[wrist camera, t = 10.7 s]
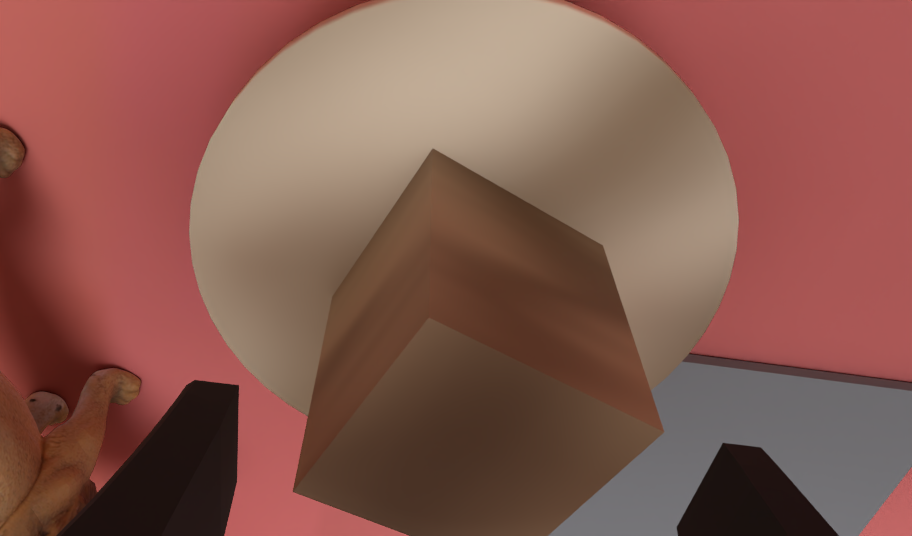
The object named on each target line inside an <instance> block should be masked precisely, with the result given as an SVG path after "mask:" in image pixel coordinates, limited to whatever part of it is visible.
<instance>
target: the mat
mask: <svg viewBox="0 0 912 536" xmlns="http://www.w3.org/2000/svg"><path fill="white" fill-rule="evenodd" d="M651 393H652V396H653V399H654V402H655V405H656V408H657V411H658V414H659V417H660V420H661V423H662V426H663V429H664V433H663V434H662V435H661V436H660V437H658V438H657V439H656V440H655V441H654V442H653V443H652V444H651V445H649V446H648V447H647V448H646V449H645V450H644V451H643V452H642V453H640V454H639V455H638V456H637V457H636V458H635V459H634V460H633V461H631V462H630V463H629V464H628V465H627V466H626V467H625V468H624V469H622V470H621V471H620V472H619V473H618V474H617V475H616V476H615V477H613V478H612V479H611V480H610V481H609V482H608V483H607V484H606V485H604V486H603V487H602V488H601V489H600V490H599V491H598V492H597V493H595V494H594V495H593V496H592V497H591V498H590V499H589V500H588V501H586V502H585V503H584V504H583V505H582V506H581V507H580V508H579V509H577V510H576V511H575V512H574V513H573V514H572V515H571V516H570V517H568V518H567V519H566V520H565V521H564V522H563V523H562V524H561V525H559V526H558V527H557V528H556V529H555V530H554V531H553V532H552V533H550V534H549V535H548V536H678V533H677V525H678V524H679V522H680V520H681V518H682V516H683V514H684V513H685V511H686V509H687V507H688V505H689V504H690V502H691V500H692V498H693V496H694V494H695V493H696V491H697V489H698V487H699V485H700V484H701V482H702V480H703V478H704V476H705V474H706V473H707V471H708V469H709V467H710V465H711V463H712V462H713V460H714V458H715V456H716V454H717V453H718V451H719V449H720V447H721V445H722V443H729V444H737V445H746V446H754V447H761V448H762V449H763V450H764V451H765V452H766V453H767V454H768V455H769V456H770V458H771V459H772V460H773V461H774V462H775V463H776V464H777V465H778V466H779V467H780V469H781V470H782V471H783V472H784V473H785V474H786V475H787V477H788V478H789V479H790V480H791V481H792V482H793V483H794V485H795V486H796V487H797V488H798V489H799V490H800V491H801V493H802V494H803V495H804V496H805V497H806V498H807V499H808V501H809V502H810V503H811V504H812V505H813V506H814V507H815V509H816V510H817V511H818V512H819V513H820V514H821V516H822V517H823V518H824V519H825V520H826V521H827V522H828V524H829V525H830V526H831V527H832V528H833V529H834V530H835V532H836V533H837V534H838V535H839V536H858V535H859V534H860V533H861V532H862V530H863V529H864V528H865V526H866V525H867V524H868V523H869V521H870V520H871V519H872V517H873V516H874V515H875V514H876V512H877V511H878V510H879V508H880V507H881V506H882V504H883V503H884V502H885V501H886V499H887V498H888V497H889V495H890V494H891V493H892V492H893V490H894V489H895V488H896V486H897V485H898V484H899V483H900V481H901V480H902V479H903V477H904V476H905V475H906V473H907V472H908V471H909V470H910V468H911V467H912V383H908V382H901V381H893V380H885V379H878V378H870V377H862V376H854V375H847V374H839V373H831V372H824V371H816V370H808V369H800V368H793V367H785V366H777V365H770V364H762V363H754V362H746V361H739V360H731V359H723V358H716V357H708V356H700V355H692V354H688V356H687V357H686V358H685V359H684V360H683V361H682V362H681V363H680V364H679V365H678V366H677V367H676V368H675V369H674V370H673V371H672V372H671V373H670V374H669V376H668V377H666V378H665V379H664V380H663V381H662V382H660V383H659V384H658V385H657V386H656V387H655V388H653V389H652V390H651Z"/></svg>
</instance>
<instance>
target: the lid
mask: <svg viewBox="0 0 912 536" xmlns="http://www.w3.org/2000/svg"><path fill="white" fill-rule="evenodd" d="M738 223H739V217H738V205H737V193H736V186H735V182H734V178H733V174H732V171H731V167H730V163H729V159H728V156H727V154H726V151H725V149H724V147H723V144H722V142H721V140H720V138H719V135H718V133H717V131H716V128H715V126H714V125H713V123H712V122H711V120H710V119H709V117H708V116H707V114H706V112H705V111H704V109H703V108H702V106H701V105H700V103H699V102H698V100H697V99H696V97H695V96H694V94H693V93H692V92H691V90H690V89H689V88H688V86H687V85H686V84H685V83H684V82H683V81H682V79H681V78H680V77H679V76H678V75H677V74H676V73H675V72H674V71H673V69H672V68H671V67H670V66H669V65H668V64H667V63H666V62H665V61H664V59H663V58H661V57H660V56H659V55H658V54H657V53H655V52H654V51H653V50H652V49H650V48H649V47H648V46H647V45H646V44H644V43H643V42H642V41H641V40H639V39H638V38H637V37H636V36H634V35H633V34H631V33H630V32H628V31H626V30H625V29H623V28H621V27H620V26H618V25H616V24H615V23H613V22H611V21H609V20H608V19H606V18H604V17H603V16H601V15H599V14H596V13H594V12H592V11H589V10H587V9H584V8H582V7H579V6H577V5H575V4H572V3H570V2H567V1H565V0H371V1H368V2H364V3H361V4H358V5H355V6H353V7H351V8H349V9H347V10H345V11H343V12H340V13H338V14H336V15H334V16H332V17H330V18H328V19H325V20H323V21H321V22H319V23H318V24H316V25H315V26H313V27H312V28H310V29H309V30H307V31H306V32H304V33H303V34H301V35H299V36H298V37H296V38H295V39H293V40H292V41H290V42H289V43H287V44H286V45H285V46H284V47H283V48H282V49H281V50H279V51H278V52H277V53H276V54H275V55H274V56H273V57H272V58H270V59H269V60H268V61H267V62H266V63H265V64H264V65H262V66H261V67H260V68H259V69H258V70H257V72H256V73H255V74H254V75H253V76H252V78H251V79H250V80H249V81H248V82H247V84H246V85H245V86H244V87H243V88H242V90H241V91H240V92H239V93H238V95H237V96H236V97H235V99H234V100H233V102H232V104H231V105H230V107H229V109H228V110H227V112H226V114H225V115H224V117H223V119H222V120H221V122H220V124H219V126H218V127H217V129H216V131H215V132H214V134H213V136H212V137H211V139H210V141H209V144H208V146H207V149H206V151H205V154H204V156H203V159H202V161H201V164H200V166H199V169H198V172H197V176H196V181H195V186H194V190H193V195H192V199H191V208H190V227H189V237H190V246H191V256H192V264H193V268H194V272H195V276H196V279H197V283H198V287H199V291H200V294H201V296H202V298H203V301H204V303H205V305H206V308H207V310H208V312H209V315H210V317H211V319H212V321H213V323H214V324H215V326H216V328H217V329H218V331H219V332H220V334H221V336H222V337H223V339H224V341H225V342H226V344H227V345H228V347H229V348H230V349H231V350H232V352H233V353H234V354H235V355H236V356H237V358H238V359H239V360H240V361H241V363H242V364H243V365H244V366H245V368H247V369H248V370H249V371H250V372H251V373H252V374H253V375H254V376H255V377H256V378H257V379H258V380H259V381H260V382H261V383H262V384H263V385H264V386H265V387H266V388H268V389H269V390H270V391H271V392H273V393H274V394H275V395H277V396H278V397H279V398H281V399H282V400H283V401H285V402H286V403H287V404H288V405H290V406H292V407H293V408H295V409H297V410H298V411H300V412H302V413H303V414H305V415H307V416H308V419H307V424H306V429H305V434H304V439H303V444H302V449H301V454H300V459H299V464H298V469H297V474H296V478H295V483H294V488H293V492H295V493H297V494H300V495H303V496H305V497H308V498H311V499H313V500H316V501H319V502H321V503H324V504H327V505H329V506H332V507H335V508H337V509H340V510H343V511H345V512H348V513H351V514H353V515H356V516H359V517H361V518H364V519H367V520H369V521H372V522H375V523H377V524H380V525H383V526H385V527H388V528H391V529H393V530H396V531H399V532H401V533H404V534H407V535H409V536H548V535H549V534H550V533H552V532H553V531H554V530H555V529H556V528H557V527H558V526H559V525H561V524H562V523H563V522H564V521H565V520H566V519H567V518H568V517H570V516H571V515H572V514H573V513H574V512H575V511H576V510H577V509H579V508H580V507H581V506H582V505H583V504H584V503H585V502H586V501H588V500H589V499H590V498H591V497H592V496H593V495H594V494H595V493H597V492H598V491H599V490H600V489H601V488H602V487H603V486H604V485H606V484H607V483H608V482H609V481H610V480H611V479H612V478H613V477H615V476H616V475H617V474H618V473H619V472H620V471H621V470H622V469H624V468H625V467H626V466H627V465H628V464H629V463H630V462H631V461H633V460H634V459H635V458H636V457H637V456H638V455H639V454H640V453H642V452H643V451H644V450H645V449H646V448H647V447H648V446H649V445H651V444H652V443H653V442H654V441H655V440H656V439H657V438H658V437H660V436H661V435H662V434H663V433H664V429H663V426H662V423H661V420H660V417H659V414H658V411H657V408H656V405H655V402H654V399H653V396H652V393H651V390H652V389H653V388H655V387H656V386H657V385H658V384H659V383H660V382H662V381H663V380H664V379H665V378H666V377H668V376H669V374H670V373H671V372H672V371H673V370H674V369H675V368H676V367H677V366H678V365H679V364H680V363H681V362H682V361H683V360H684V359H685V358H686V357H687V356H688V354H689V353H690V351H691V350H692V349H693V347H694V346H695V345H696V343H697V342H698V341H699V339H700V338H701V337H702V335H703V334H704V333H705V331H706V329H707V327H708V326H709V324H710V322H711V320H712V318H713V317H714V315H715V313H716V311H717V309H718V308H719V306H720V303H721V300H722V298H723V295H724V293H725V290H726V288H727V285H728V283H729V280H730V276H731V272H732V267H733V263H734V259H735V254H736V250H737V237H738Z"/></svg>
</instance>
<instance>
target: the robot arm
mask: <svg viewBox="0 0 912 536" xmlns="http://www.w3.org/2000/svg"><path fill="white" fill-rule="evenodd" d="M238 399H239V385H231V384H223V383H214V382H206V381H198V380H194V381H193V382H191V383H189V384H188V385H186V387H185V388H184V389H183V391H182V392H181V394H180V395H179V396H178V398H177V399H176V400H175V402H174V403H173V404H172V406H171V407H170V408H169V410H168V411H167V412H166V413H165V415H164V416H163V417H162V419H161V420H160V421H159V422H158V424H157V425H156V426H155V427H154V429H153V430H152V431H151V432H150V433H149V435H148V436H147V437H146V438H145V439H144V441H143V442H142V443H141V444H140V445H139V447H138V448H137V449H136V450H135V451H134V452H133V454H132V455H131V456H130V457H129V458H128V459H127V461H126V462H125V463H124V464H123V465H122V466H121V467H120V468H119V469H118V471H117V472H116V473H115V474H114V475H113V476H112V477H111V478H110V479H109V481H108V482H107V483H106V484H105V485H104V486H103V487H102V488H101V490H100V491H99V492H98V493H97V494H96V495H95V496H94V497H93V498H92V499H91V501H90V502H89V503H88V504H87V505H86V506H85V507H84V508H83V509H82V510H81V511H80V512H79V513H78V514H77V515H76V516H75V517H74V518H73V519H72V520H71V521H70V522H69V523H68V524H67V525H66V526H65V527H64V528H63V529H62V530H61V531H60V532H59V533H58V534H57V535H56V536H224V534H225V530H226V526H227V521H228V517H229V513H230V509H231V504H232V500H233V496H234V491H235V487H236V483H237V451H238ZM677 533H678V536H839V535H838V534H837V533H836V532H835V530H834V529H833V528H832V527H831V526H830V525H829V524H828V522H827V521H826V520H825V519H824V518H823V517H822V516H821V514H820V513H819V512H818V511H817V510H816V509H815V507H814V506H813V505H812V504H811V503H810V502H809V501H808V499H807V498H806V497H805V496H804V495H803V494H802V493H801V491H800V490H799V489H798V488H797V487H796V486H795V485H794V483H793V482H792V481H791V480H790V479H789V478H788V477H787V475H786V474H785V473H784V472H783V471H782V470H781V469H780V467H779V466H778V465H777V464H776V463H775V462H774V461H773V460H772V459H771V458H770V456H769V455H768V454H767V453H766V452H765V451H764V450H763V449H762V448H761V447H754V446H746V445H737V444H729V443H722V445H721V447H720V449H719V451H718V453H717V454H716V456H715V458H714V460H713V462H712V463H711V465H710V467H709V469H708V471H707V473H706V474H705V476H704V478H703V480H702V482H701V484H700V485H699V487H698V489H697V491H696V493H695V494H694V496H693V498H692V500H691V502H690V504H689V505H688V507H687V509H686V511H685V513H684V514H683V516H682V518H681V520H680V522H679V524H678V525H677Z"/></svg>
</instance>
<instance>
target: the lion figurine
mask: <svg viewBox="0 0 912 536" xmlns="http://www.w3.org/2000/svg"><path fill="white" fill-rule="evenodd" d="M24 154H25V150H24V147H23V145H22V144H21V142H20V140H19V139H18V138H17V137H16V136H15V135H14V134H13V133H12V132H11V131H9V130H7V129H4V128H1V127H0V177H1V178H7V177H9V176H10V175H11V174H12V173H13V172H14V171H15V170H16V169H18V168H19V167H20V166H21V164H22V160H23V157H24ZM140 385H141V381H140V379H139V378H137V377H136V376H135V375H133V374H131V373H129V372H127V371H124V370H121V369H117V368H110V369H104V370H99V371H96V372H95V373H93V374H92V375H91V376H90V377H89V379H88V380H87V382H86V384H85V386H84V388H83V390H82V392H81V394H80V398H79V401H78V404H77V406H76V408H75V410H74V412H73V414H72V416H71V418H70V419H69V420H68V421H67V422H66V423H64V424H62V425H60V426H58V427H56V428H55V429H54V430H53V431H52V432H50V433H49V434H48V435H47V436H45V437H42V436H41V435H40V434H41V433H42V432H43V430H44V429H45V428H46V427H47V426H48V425H54V424H56V423H61V422H63V421H64V420H66V418H67V415H68V407H67V404H66V403H65V401H64V400H63V399H62V398H61V397H59V396H58V395H56V394H52V393H48V392H42V391H41V392H36V393H33V394H32V395H30V396H28V397H27V398H26V399H25V401H24V399H23V397H22V395H21V394H20V393H19V392H18V390H17V389H16V388H15V387H14V386H13V384H12V383H11V382H10V381H9V380H8V379H7V378H6V377H5V376H4V375H3V374H2V373H1V372H0V536H56V535H57V534H58V533H59V532H60V531H61V530H62V529H63V528H64V527H65V526H66V525H67V524H68V523H69V522H70V521H71V520H72V519H73V518H74V517H75V516H76V515H77V514H78V513H79V512H80V511H81V510H82V509H83V508H84V507H85V506H86V505H87V504H88V503H89V502H90V501H91V499H92V498H93V497H94V496H95V495H96V494H97V493H98V492H97V491H96V486H95V483H94V482H92V481H91V480H90V476H91V473H92V471H93V469H94V466H95V464H96V461H97V458H98V455H99V452H100V449H101V446H102V443H103V439H104V435H105V429H106V418H107V413H108V408H109V404H110V403H117V404H120V405H125V404H128V403H129V402H130V401H131V400H133V399H135V398H136V397H137V396H138V394H139V387H140Z"/></svg>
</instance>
